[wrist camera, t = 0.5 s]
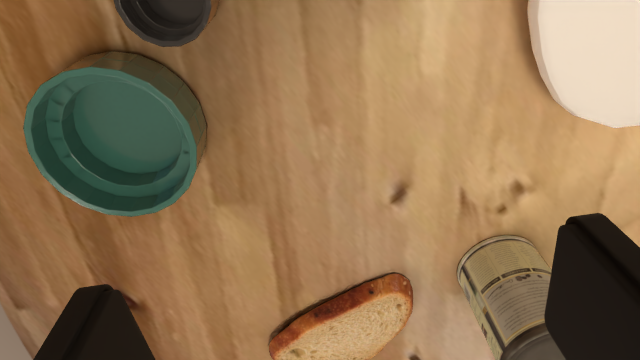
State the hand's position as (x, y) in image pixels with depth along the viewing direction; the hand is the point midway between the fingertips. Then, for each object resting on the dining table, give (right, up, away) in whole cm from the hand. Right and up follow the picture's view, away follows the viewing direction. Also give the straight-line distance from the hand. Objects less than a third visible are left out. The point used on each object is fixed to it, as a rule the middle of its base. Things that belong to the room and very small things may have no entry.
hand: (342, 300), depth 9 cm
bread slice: (+2, -16, +49) cm, 51 cm away
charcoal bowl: (-13, +19, +27) cm, 35 cm away
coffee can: (+22, -8, +45) cm, 51 cm away
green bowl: (-19, +8, +33) cm, 39 cm away
